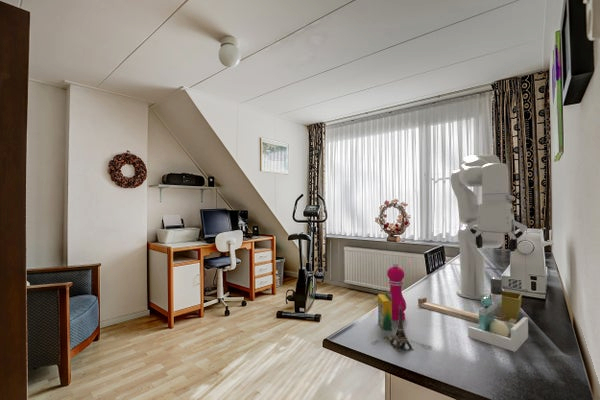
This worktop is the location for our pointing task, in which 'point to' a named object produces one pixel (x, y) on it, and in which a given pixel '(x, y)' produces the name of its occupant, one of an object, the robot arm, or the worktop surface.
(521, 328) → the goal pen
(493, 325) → the ball
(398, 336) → the eiffel tower figurine
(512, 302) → the flower pot
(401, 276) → the pepper mill
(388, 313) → the crayon box
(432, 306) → the oak rail
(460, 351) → the worktop surface
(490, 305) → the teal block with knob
